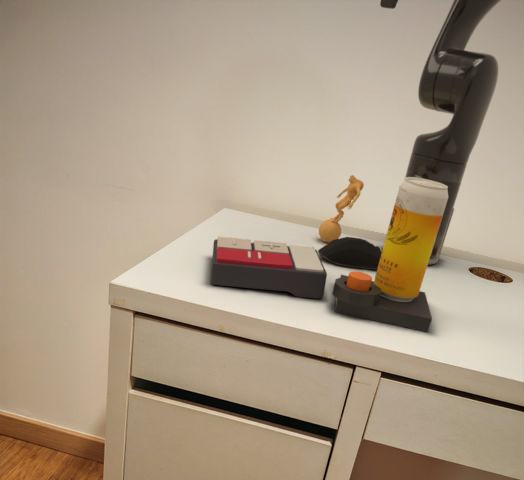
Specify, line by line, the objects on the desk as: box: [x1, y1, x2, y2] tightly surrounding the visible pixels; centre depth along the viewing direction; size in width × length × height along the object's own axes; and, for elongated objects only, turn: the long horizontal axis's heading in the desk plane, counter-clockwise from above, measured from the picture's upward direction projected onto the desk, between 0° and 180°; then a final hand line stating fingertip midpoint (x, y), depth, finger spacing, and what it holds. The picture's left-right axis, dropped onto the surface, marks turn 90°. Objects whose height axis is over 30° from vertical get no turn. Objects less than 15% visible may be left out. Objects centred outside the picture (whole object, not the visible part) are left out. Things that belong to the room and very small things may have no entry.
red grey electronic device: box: [210, 236, 328, 300], centre depth 81 cm, size 11×4×15 cm
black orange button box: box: [332, 274, 433, 333], centre depth 77 cm, size 11×13×4 cm
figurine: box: [318, 174, 365, 243], centre depth 102 cm, size 8×6×12 cm
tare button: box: [346, 270, 373, 291], centre depth 74 cm, size 3×3×2 cm
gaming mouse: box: [317, 236, 382, 271], centre depth 95 cm, size 6×15×4 cm, turn 95°
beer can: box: [373, 177, 448, 302], centre depth 75 cm, size 6×6×15 cm
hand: (368, 1), depth 77 cm, fingers open, 8 cm apart
